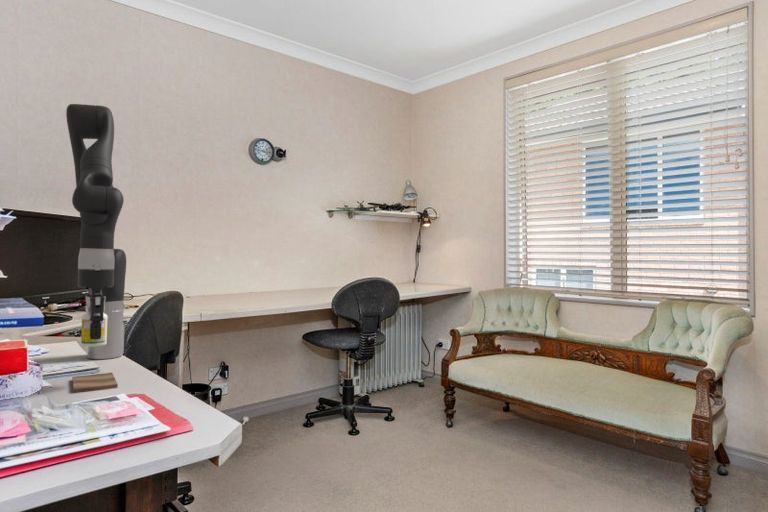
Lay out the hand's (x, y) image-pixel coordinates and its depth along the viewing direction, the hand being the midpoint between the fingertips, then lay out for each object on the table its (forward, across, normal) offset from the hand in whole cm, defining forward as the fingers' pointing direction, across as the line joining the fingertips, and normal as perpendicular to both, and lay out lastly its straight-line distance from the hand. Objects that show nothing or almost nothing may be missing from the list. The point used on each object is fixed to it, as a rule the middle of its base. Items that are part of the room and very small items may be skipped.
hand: (94, 336), depth 113 cm
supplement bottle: (+2, 0, 0) cm, 2 cm away
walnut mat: (+11, 0, 0) cm, 11 cm away
